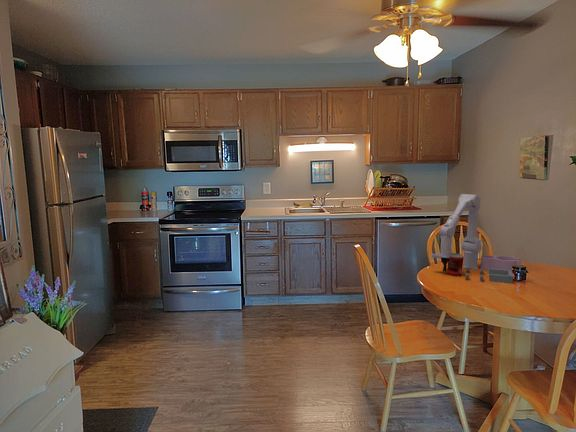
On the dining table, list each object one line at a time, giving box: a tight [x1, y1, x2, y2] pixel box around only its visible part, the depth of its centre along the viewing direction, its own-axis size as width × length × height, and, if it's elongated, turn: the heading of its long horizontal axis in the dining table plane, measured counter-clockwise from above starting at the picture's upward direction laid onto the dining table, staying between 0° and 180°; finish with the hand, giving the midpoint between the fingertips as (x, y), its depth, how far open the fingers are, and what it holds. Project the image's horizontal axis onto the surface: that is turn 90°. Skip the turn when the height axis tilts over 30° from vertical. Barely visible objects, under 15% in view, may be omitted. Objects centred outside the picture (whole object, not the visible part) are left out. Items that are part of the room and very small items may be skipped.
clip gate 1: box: [465, 267, 471, 281], centre depth 221 cm, size 19×2×2 cm, turn 154°
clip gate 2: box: [479, 267, 485, 282], centre depth 218 cm, size 19×2×2 cm, turn 154°
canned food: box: [446, 252, 464, 277], centre depth 223 cm, size 8×8×11 cm
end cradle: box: [488, 268, 514, 284], centre depth 214 cm, size 14×11×4 cm
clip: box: [480, 254, 522, 272], centre depth 232 cm, size 20×12×7 cm, turn 62°
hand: (444, 271), depth 226 cm, fingers closed, pressing on canned food
